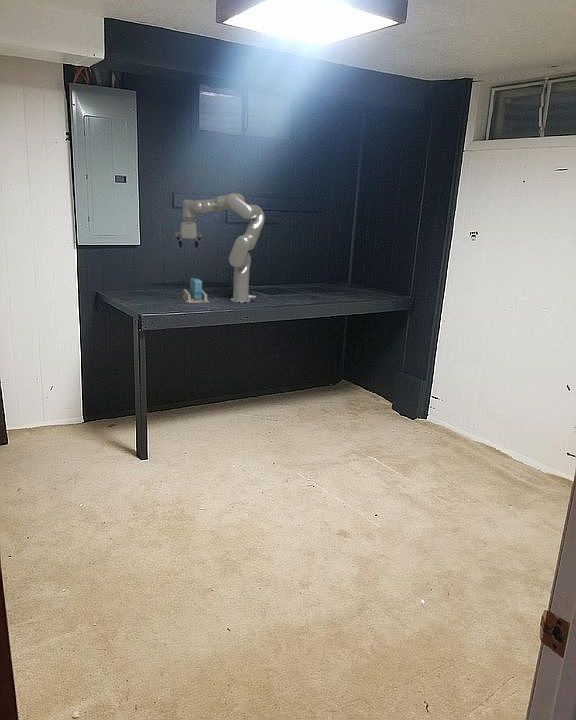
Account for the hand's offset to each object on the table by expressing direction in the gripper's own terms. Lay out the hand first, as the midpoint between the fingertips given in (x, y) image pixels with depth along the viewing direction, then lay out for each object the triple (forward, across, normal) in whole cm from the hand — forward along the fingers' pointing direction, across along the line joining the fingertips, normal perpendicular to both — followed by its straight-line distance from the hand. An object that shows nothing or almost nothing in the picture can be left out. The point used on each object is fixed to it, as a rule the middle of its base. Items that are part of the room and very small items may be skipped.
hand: (188, 247), depth 372 cm
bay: (+30, -2, +17) cm, 35 cm away
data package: (+30, -2, +17) cm, 34 cm away
